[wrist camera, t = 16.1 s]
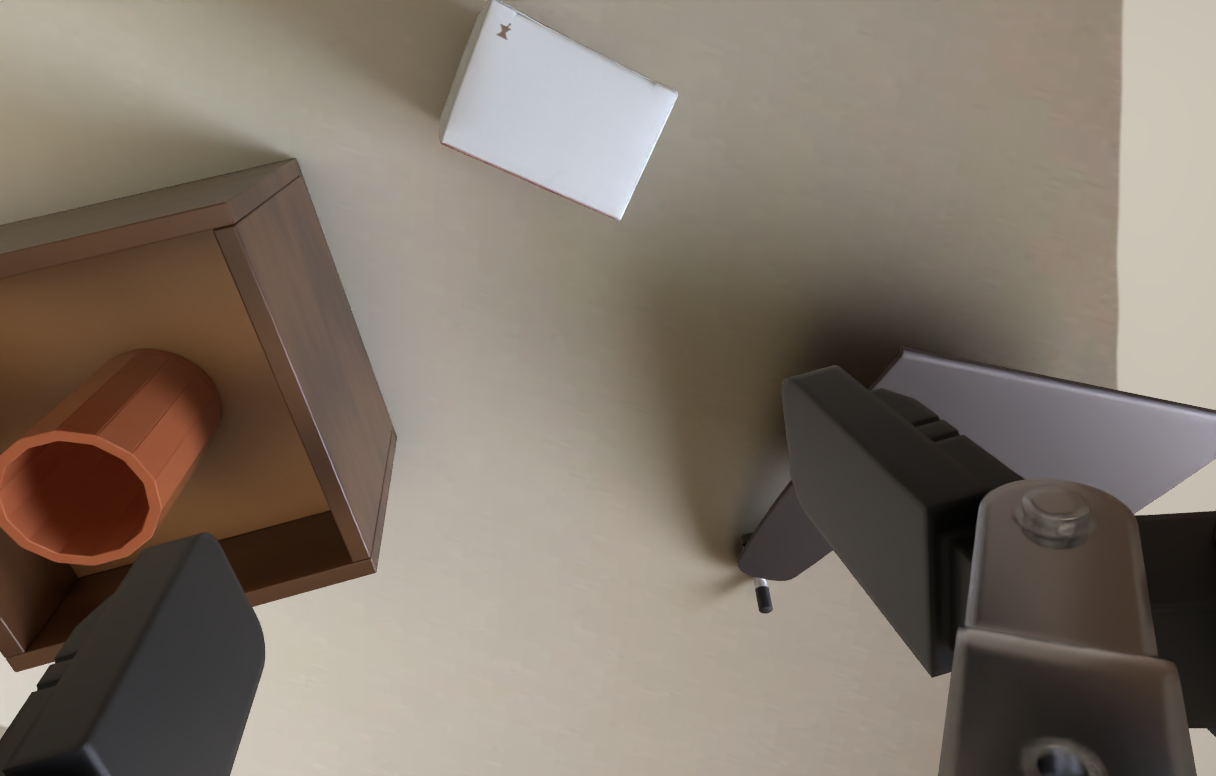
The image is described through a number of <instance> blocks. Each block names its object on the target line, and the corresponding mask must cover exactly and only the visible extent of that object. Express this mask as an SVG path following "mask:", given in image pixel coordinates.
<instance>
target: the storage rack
mask: <svg viewBox="0 0 1216 776" xmlns="http://www.w3.org/2000/svg"><path fill="white" fill-rule="evenodd" d="M142 349H153V350H161V351H166V352H170V353H174V354H176V355H179V356H181V357H183V358H185V359H187V360H189V361H191V362H192V363H194V364H195V365H197V366H198V367H199V368H200V369H201V370H203V371H204V372H205V373H206V374H207V376H208V377H209V378H210V379H211V381H212V382H213V383H214V385H215V387H216V389H217V391H218V393H219V396H220V399H221V404H222V419H221V423H220V426H219V429H218V431H217V433H216V434H215V436H214V438H213V441H212V443H211V445H210V446H209V448H208V450H207V451H206V453H205V454H204V456H203V457H202V459H201V461H200V462H199V464H198V465H197V467H196V469H195V470H194V472H193V473H192V475H191V476H190V478H189V480H188V481H187V483H186V484H185V486H184V487H183V489H182V491H181V492H180V494H179V495H178V497H177V499H176V500H175V502H174V503H173V505H172V506H171V508H170V510H169V511H168V513H167V514H166V516H165V517H164V519H163V521H162V522H161V524H160V525H159V527H158V529H157V530H156V532H155V533H154V535H153V536H152V538H150V539H149V540H148V541H147V542H145V543H144V544H143V545H142V546H141V547H139V548H138V549H137V550H136V551H135V552H133V553H132V554H131V555H130V556H128V557H125V558H121V559H117V560H114V561H110V562H106V563H102V564H99V565H93V566H91V565H80V564H68V563H57V562H54V561H51V560H49V559H47V558H45V557H42V556H40V555H38V554H36V553H33V552H31V551H29V550H26V549H24V548H22V547H21V546H19V545H18V544H17V543H16V542H15V541H14V540H13V539H12V538H11V537H10V536H9V535H8V534H7V533H6V532H5V531H4V530H3V529H2V528H1V527H0V652H1V653H2V654H3V656H4V657H5V658H6V660H7V661H8V663H9V664H10V666H11V667H12V668H13V670H14V671H15V672H19V671H22V670H26V669H29V668H33V667H37V666H40V665H44V664H47V663H51V662H55V657H56V656H57V654H58V653H59V651H60V650H61V648H62V647H63V645H64V644H65V642H66V641H67V639H68V638H69V636H70V635H71V633H72V632H73V630H74V629H75V627H76V626H77V625H78V624H79V623H80V622H82V621H83V620H84V619H85V618H86V617H87V616H88V615H89V614H90V613H91V612H93V611H94V610H95V609H96V608H97V607H98V606H99V605H100V604H101V603H102V602H104V601H105V600H106V599H107V598H108V597H109V596H110V595H114V593H115V592H116V590H117V589H118V587H119V586H120V584H121V582H122V581H123V579H124V578H125V576H126V575H127V573H128V571H129V570H130V568H131V567H132V565H133V564H134V562H135V560H136V559H137V557H138V556H139V554H140V553H141V552H142V550H144V549H145V548H148V547H151V546H155V545H158V544H162V543H166V542H169V541H173V540H177V539H181V538H184V537H188V536H192V535H196V534H199V533H203V532H204V533H209V534H211V535H212V536H214V537H215V538H216V539H217V541H218V542H219V543H220V545H221V547H222V549H223V551H224V553H225V555H226V557H227V559H228V561H229V563H230V565H231V567H232V569H233V570H234V572H235V574H236V576H237V578H238V580H239V582H240V584H241V586H242V588H243V590H244V592H245V594H246V596H247V598H248V600H249V602H250V604H251V606H252V607H254V606H257V605H261V604H264V603H268V602H272V601H275V600H279V599H283V598H286V597H290V596H293V595H297V594H301V593H304V592H308V591H311V590H315V589H319V588H322V587H326V586H330V585H333V584H337V583H340V582H344V581H348V580H351V579H355V578H358V577H362V576H366V575H369V574H373V573H376V572H377V565H378V559H379V552H380V546H381V539H382V533H383V526H384V519H385V513H386V506H387V500H388V493H389V486H390V480H391V473H392V467H393V460H394V454H395V447H396V440H397V436H396V433H395V430H394V428H393V425H392V422H391V419H390V417H389V414H388V411H387V408H386V405H385V403H384V400H383V397H382V394H381V392H380V389H379V386H378V383H377V381H376V378H375V375H374V372H373V370H372V367H371V364H370V361H369V358H368V356H367V353H366V350H365V347H364V345H363V342H362V339H361V336H360V334H359V331H358V328H357V325H356V322H355V320H354V317H353V314H352V311H351V309H350V306H349V303H348V300H347V298H346V295H345V292H344V289H343V286H342V284H341V281H340V278H339V275H338V273H337V270H336V267H335V264H334V262H333V259H332V256H331V253H330V250H329V248H328V245H327V242H326V239H325V237H324V234H323V231H322V228H321V226H320V223H319V220H318V217H317V215H316V212H315V209H314V206H313V203H312V201H311V198H310V195H309V192H308V190H307V187H306V184H305V181H304V179H303V176H302V173H301V170H300V167H299V165H298V162H297V159H296V158H293V159H289V160H284V161H280V162H276V163H271V164H267V165H263V166H258V167H254V168H250V169H245V170H241V171H236V172H232V173H228V174H223V175H219V176H215V177H210V178H206V179H201V180H197V181H193V182H188V183H184V184H180V185H175V186H171V187H166V188H162V189H158V190H153V191H149V192H145V193H140V194H136V195H131V196H127V197H123V198H118V199H114V200H110V201H105V202H101V203H97V204H92V205H88V206H83V207H79V208H75V209H70V210H66V211H62V212H57V213H53V214H48V215H44V216H40V217H35V218H31V219H27V220H22V221H18V222H13V223H9V224H5V225H0V454H2V453H3V452H4V451H5V450H6V449H7V448H8V447H10V446H11V445H12V444H13V443H14V442H15V441H16V440H18V439H19V438H20V437H21V436H22V435H23V434H25V433H26V432H27V431H28V430H29V429H30V428H31V427H33V426H34V425H35V424H36V423H37V422H38V421H39V420H41V419H42V418H43V417H44V416H45V415H46V414H48V413H49V412H50V411H51V410H52V409H53V408H54V407H56V406H57V405H58V404H59V403H60V402H61V401H62V400H64V399H65V398H66V397H67V396H68V395H69V394H71V393H72V392H73V391H74V390H75V389H76V388H77V387H79V386H80V385H81V384H82V383H83V382H84V381H85V380H87V379H88V378H89V377H90V376H91V375H92V374H94V373H95V372H96V371H97V370H98V369H99V368H100V367H102V366H103V365H104V364H105V363H106V362H107V361H109V360H111V359H112V358H114V357H116V356H118V355H120V354H122V353H126V352H129V351H134V350H142Z"/></svg>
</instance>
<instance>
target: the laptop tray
mask: <svg viewBox="0 0 1216 776" xmlns="http://www.w3.org/2000/svg"><path fill="white" fill-rule="evenodd" d="M879 388H883V389H886V390H890V391H893V392H896V393H899V394H902V395H905V396H908V397H911V398H914V399H916V400H918V401H919V402H920V403H922V404H923V405H924V406H926V407H927V408H928V409H930V410H931V411H932V412H934V413H935V414H937V415H938V416H939V419H940V420H945V421H946V422H947V423H949V424H950V425H952V426H953V427H954V428H956V429H957V430H958V432H959V434H960V435H963V434H964V435H965V436H966V437H968V438H969V439H971V440H972V441H973V442H975V443H976V444H977V445H979V446H980V447H981V448H983V449H984V450H985V451H987V452H988V453H990V454H991V455H992V456H994V457H995V458H996V459H998V460H999V461H1000V462H1002V463H1003V464H1005V465H1006V466H1007V467H1009V468H1010V469H1011V470H1013V471H1014V472H1015V473H1017V474H1018V475H1019V476H1021V477H1022V478H1024V479H1025V480H1026V479H1040V478H1043V479H1060V480H1068V481H1073V482H1078V483H1082V484H1085V485H1089V486H1092V487H1095V488H1097V489H1100V490H1102V491H1105V492H1107V493H1108V494H1110V495H1112V496H1114V497H1116V498H1117V499H1119V500H1120V501H1121V502H1123V503H1124V504H1125V505H1126V506H1127V507H1128V508H1129V509H1130V510H1131V511H1132V513H1133V514H1135V513H1136V512H1138V511H1139V510H1141V509H1142V508H1144V507H1145V506H1147V505H1148V504H1150V503H1151V502H1153V501H1154V500H1156V499H1157V498H1159V497H1160V496H1162V495H1163V494H1165V493H1166V492H1167V491H1169V490H1171V489H1172V488H1174V487H1175V486H1177V485H1178V484H1180V483H1181V482H1182V481H1184V480H1185V479H1187V478H1188V477H1190V476H1191V475H1193V474H1194V473H1196V472H1197V471H1198V470H1200V469H1201V468H1203V467H1204V466H1206V465H1207V464H1209V463H1210V462H1212V461H1213V460H1214V459H1216V410H1211V409H1207V408H1201V407H1197V406H1192V405H1187V404H1182V403H1177V402H1172V401H1167V400H1162V399H1158V398H1153V397H1148V396H1142V395H1138V394H1133V393H1128V392H1123V391H1118V390H1113V389H1108V388H1104V387H1099V386H1094V385H1089V384H1084V383H1079V382H1074V381H1069V380H1064V379H1059V378H1054V377H1050V376H1045V375H1040V374H1035V373H1030V372H1025V371H1020V370H1015V369H1010V368H1005V367H1001V366H996V365H991V364H986V363H981V362H976V361H971V360H966V359H961V358H956V357H951V356H947V355H942V354H937V353H932V352H927V351H922V350H917V349H912V348H907V347H902V346H901V347H900V350H899V355H898V356H897V357H896V358H895V359H894V360H893V361H892V363H891V364H890V365H889V366H888V367H887V368H886V369H885V370H884V372H883V373H882V374H881V375H880V376H879V377H878V378H877V379H876V381H875V382H874V383H873V384H872V385H871V386H870V387H869V388H868V390H870V391H872V390H875V389H879ZM741 538H742V544H743V546H744V549H743V550H742V552H741V554H740V556H739V558H738V567H739V569H740V570H741V571H742V572H743V573H745V574H747V575H750V576H753V577H755V579H754V582H755V588H756V589H755V591H756V596H757V602H758V607H759V611H760V612H761V613H769V612H771V611H772V609H773V608H772V603H771V598H770V593H769V588H768V587H767V582H766V579H768V580H775V581H786V580H790V579H792V578H794V577H796V576H797V575H799V574H800V573H802V572H803V571H805V570H806V569H807V568H809V567H810V566H812V565H813V564H815V563H816V562H817V561H819V560H820V559H822V558H823V557H824V556H826V555H827V554H828V553H830V552H831V551H833V549H832V548H831V546H830V545H829V544H828V542H827V541H826V540H825V539H824V537H823V536H822V535H821V533H820V532H819V531H818V530H817V528H816V527H815V526H814V524H813V523H812V522H811V520H810V519H809V518H808V517H807V515H806V514H805V512H804V510H803V509H802V507H801V505H800V502H799V500H798V498H797V495H796V492H795V489H794V485H793V482H792V480H791V481H790V483H789V484H788V485H787V486H786V488H785V489H784V490H783V492H782V493H781V494H780V496H779V497H778V498H777V500H776V501H775V502H774V504H773V505H772V506H771V508H770V509H769V511H768V512H767V513H766V515H765V516H764V518H763V519H762V521H761V522H760V524H759V525H758V526H757V528H756V529H755V531H754V532H753V533H750V534H745V535H742V536H741Z"/></svg>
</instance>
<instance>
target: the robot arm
mask: <svg viewBox="0 0 1216 776" xmlns="http://www.w3.org/2000/svg"><path fill="white" fill-rule="evenodd" d="M782 402H783V411H784V419H785V428H786V436H787V445H788V454H789V462H790V471H791V477H792V482H793V485H794V489H795V492H796V495H797V498H798V500H799V502H800V505H801V507H802V509H803V510H804V512H805V514H806V515H807V517H808V518H809V519H810V520H811V522H812V523H813V524H814V526H815V527H816V528H817V530H818V531H819V532H820V533H821V535H822V536H823V537H824V539H825V540H826V541H827V542H828V544H829V545H830V546H831V548H832V549H833V550H834V552H835V553H836V554H837V555H838V557H839V558H840V559H841V561H842V562H843V563H844V564H845V566H846V567H847V568H848V570H849V571H850V572H851V574H852V575H853V576H854V577H855V579H856V580H857V581H858V583H859V584H860V585H861V586H862V588H863V589H864V590H865V592H866V593H867V594H868V596H869V597H870V598H871V599H872V601H873V602H874V603H875V605H876V606H877V607H878V608H879V610H880V611H881V612H882V614H883V615H884V616H885V618H886V619H887V620H888V621H889V623H890V624H891V625H892V627H893V628H894V629H895V630H896V632H897V633H898V634H899V636H900V637H901V638H902V640H903V641H904V642H905V643H906V645H907V646H908V647H909V649H910V650H911V651H912V652H913V654H914V655H915V656H916V658H917V659H918V660H919V661H920V663H921V664H922V665H923V667H924V668H925V669H926V671H927V672H928V673H929V674H930V676H931V677H932V678H933V677H936V676H939V675H942V674H946V673H949V672H951V679H950V687H949V695H948V703H947V710H946V718H945V726H944V734H943V741H942V749H941V757H940V765H939V772H938V776H1197V774H1196V768H1195V763H1194V757H1193V752H1192V746H1191V740H1190V734H1189V728H1207V729H1208V730H1209V731H1210V732H1211V733H1212V734H1213V735H1214V736H1215V737H1216V511H1210V512H1193V513H1177V514H1160V515H1139V516H1134V514H1133V513H1132V511H1131V510H1130V509H1129V508H1128V507H1127V506H1126V505H1125V504H1124V503H1123V502H1121V501H1120V500H1119V499H1117V498H1116V497H1114V496H1112V495H1110V494H1108V493H1107V492H1105V491H1102V490H1100V489H1097V488H1095V487H1092V486H1089V485H1085V484H1082V483H1078V482H1073V481H1068V480H1060V479H1043V478H1040V479H1026V480H1025V479H1024V478H1022V477H1021V476H1019V475H1018V474H1017V473H1015V472H1014V471H1013V470H1011V469H1010V468H1009V467H1007V466H1006V465H1005V464H1003V463H1002V462H1000V461H999V460H998V459H996V458H995V457H994V456H992V455H991V454H990V453H988V452H987V451H985V450H984V449H983V448H981V447H980V446H979V445H977V444H976V443H975V442H973V441H972V440H971V439H969V438H968V437H966V436H965V435H964V434H963V435H960V434H959V432H958V430H957V429H956V428H954V427H953V426H952V425H950V424H949V423H947V422H946V421H945V420H940V419H939V416H938V415H937V414H935V413H934V412H932V411H931V410H930V409H928V408H927V407H926V406H924V405H923V404H922V403H920V402H919V401H918V400H916V399H914V398H911V397H908V396H905V395H902V394H899V393H896V392H893V391H890V390H886V389H883V388H879V389H875V390H872V391H870V390H868V389H867V388H866V387H865V386H863V385H862V384H861V383H859V382H858V381H857V380H856V379H854V378H853V377H852V376H851V375H849V374H848V373H847V372H846V371H844V370H843V369H842V368H841V367H839V366H836V365H834V366H830V367H826V368H822V369H818V370H815V371H811V372H807V373H803V374H800V375H796V376H792V377H788V378H786V379H784V381H783V384H782ZM264 662H265V643H264V636H263V632H262V628H261V625H260V622H259V620H258V618H257V616H256V614H255V612H254V610H253V608H252V606H251V604H250V602H249V600H248V598H247V596H246V594H245V592H244V590H243V588H242V586H241V584H240V582H239V580H238V578H237V576H236V574H235V572H234V570H233V569H232V567H231V565H230V563H229V561H228V559H227V557H226V555H225V553H224V551H223V549H222V547H221V545H220V543H219V542H218V541H217V539H216V538H215V537H214V536H212V535H211V534H209V533H204V532H203V533H199V534H196V535H192V536H188V537H184V538H181V539H177V540H173V541H169V542H166V543H162V544H158V545H155V546H151V547H148V548H145V549H144V550H142V552H141V553H140V554H139V556H138V557H137V559H136V560H135V562H134V564H133V565H132V567H131V568H130V570H129V571H128V573H127V575H126V576H125V578H124V579H123V581H122V582H121V584H120V586H119V587H118V589H117V590H116V592H115V593H114V595H110V596H109V597H108V598H107V599H106V600H105V601H104V602H102V603H101V604H100V605H99V606H98V607H97V608H96V609H95V610H94V611H93V612H91V613H90V614H89V615H88V616H87V617H86V618H85V619H84V620H83V621H82V622H80V623H79V624H78V625H77V626H76V627H75V629H74V630H73V632H72V633H71V635H70V636H69V638H68V639H67V641H66V642H65V644H64V645H63V647H62V648H61V650H60V651H59V653H58V654H57V656H56V657H55V664H52V665H50V666H49V668H48V669H47V671H46V672H45V674H44V675H43V677H42V678H41V680H40V681H39V683H38V684H37V688H38V689H37V691H35V692H32V693H31V695H30V696H29V698H28V699H27V701H26V702H25V703H24V705H23V706H22V708H21V709H20V711H19V712H18V714H17V715H16V717H15V718H14V720H13V721H12V723H11V724H10V726H9V727H8V729H7V730H6V732H5V733H4V735H3V736H2V738H1V740H0V776H230V773H231V770H232V767H233V764H234V760H235V757H236V754H237V751H238V748H239V744H240V741H241V738H242V735H243V732H244V729H245V725H246V722H247V719H248V716H249V713H250V709H251V706H252V703H253V700H254V697H255V693H256V690H257V687H258V684H259V681H260V678H261V674H262V671H263V668H264Z"/></svg>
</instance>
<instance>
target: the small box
mask: <svg viewBox="0 0 1216 776" xmlns="http://www.w3.org/2000/svg"><path fill="white" fill-rule="evenodd" d="M677 97H678V92H677V91H676V90H674V89H672V88H669V87H667V86H665V85H662V84H660V83H658V82H656V81H653V80H651V79H649V78H647V77H645V76H643V75H641V74H639V73H637V72H635V71H633V70H631V69H629V68H627V67H625V66H623V65H621V64H619V63H617V62H615V61H613V60H611V59H609V58H607V57H605V56H603V55H601V54H599V53H597V52H595V51H593V50H591V49H589V48H587V47H585V46H583V45H582V44H580V43H578V42H576V41H574V40H572V39H570V38H568V37H566V36H564V35H562V34H560V33H558V32H556V31H555V30H553V29H551V28H549V27H547V26H545V25H543V24H541V23H539V22H538V21H536V20H534V19H532V18H530V17H529V16H527V15H525V14H523V13H522V12H520V11H518V10H516V9H515V8H513V7H511V6H509V5H508V4H506V3H504V2H502V1H501V0H489V1H488V2H487V4H486V5H485V7H484V8H483V9H482V11H481V12H480V13H479V14H478V17H477V19H476V22H475V24H474V27H473V30H472V32H471V35H470V37H469V40H468V42H467V45H466V48H465V51H464V53H463V56H462V59H461V61H460V64H459V67H458V70H457V72H456V75H455V78H454V81H453V84H452V86H451V89H450V92H449V95H448V98H447V101H446V104H445V107H444V109H443V112H442V115H441V118H440V142H441V144H443V145H445V146H448V147H450V148H452V149H455V150H457V151H459V152H461V153H464V154H466V155H468V156H471V157H473V158H475V159H478V160H480V161H482V162H484V163H487V164H489V165H491V166H493V167H496V168H498V169H500V170H503V171H505V172H507V173H509V174H512V175H514V176H516V177H519V178H521V179H523V180H526V181H528V182H530V183H532V184H535V185H537V186H539V187H542V188H544V189H546V190H548V191H551V192H553V193H555V194H558V195H560V196H562V197H565V198H567V199H569V200H572V201H574V202H576V203H578V204H581V205H583V206H585V207H587V208H590V209H592V210H594V211H597V212H599V213H601V214H604V215H606V216H608V217H611V218H613V219H615V220H617V221H619V220H621V218H622V216H623V214H624V212H625V209H626V207H627V205H628V203H629V201H630V199H631V197H632V195H633V192H634V190H635V188H636V186H637V184H638V182H639V180H640V177H641V175H642V173H643V171H644V169H645V167H646V164H647V162H648V160H649V158H650V156H651V154H652V151H653V149H654V147H655V145H656V143H657V141H658V138H659V136H660V134H661V132H662V130H663V128H664V125H665V123H666V121H667V119H668V117H669V115H670V112H671V110H672V108H673V106H674V104H675V102H676V99H677Z"/></svg>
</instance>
